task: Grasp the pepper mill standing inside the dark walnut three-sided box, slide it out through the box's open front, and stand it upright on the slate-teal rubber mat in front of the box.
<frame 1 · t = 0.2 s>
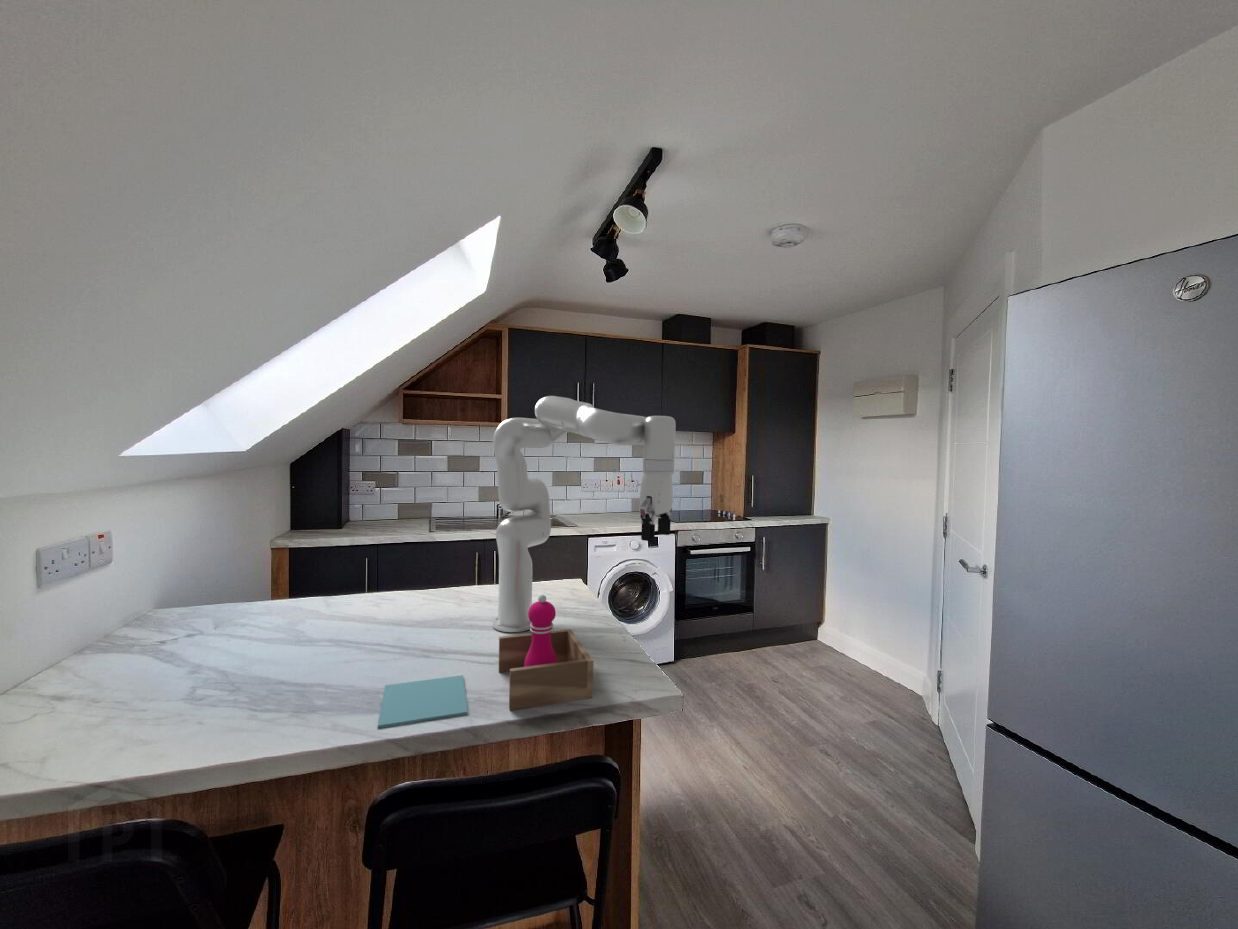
hand: (656, 537, 122), 31 cm above the worktop, fingers open, 9 cm apart
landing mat: (424, 700, 103), on the worktop
pepper mill: (540, 684, 112), on the worktop
open side box: (540, 683, 112), on the worktop
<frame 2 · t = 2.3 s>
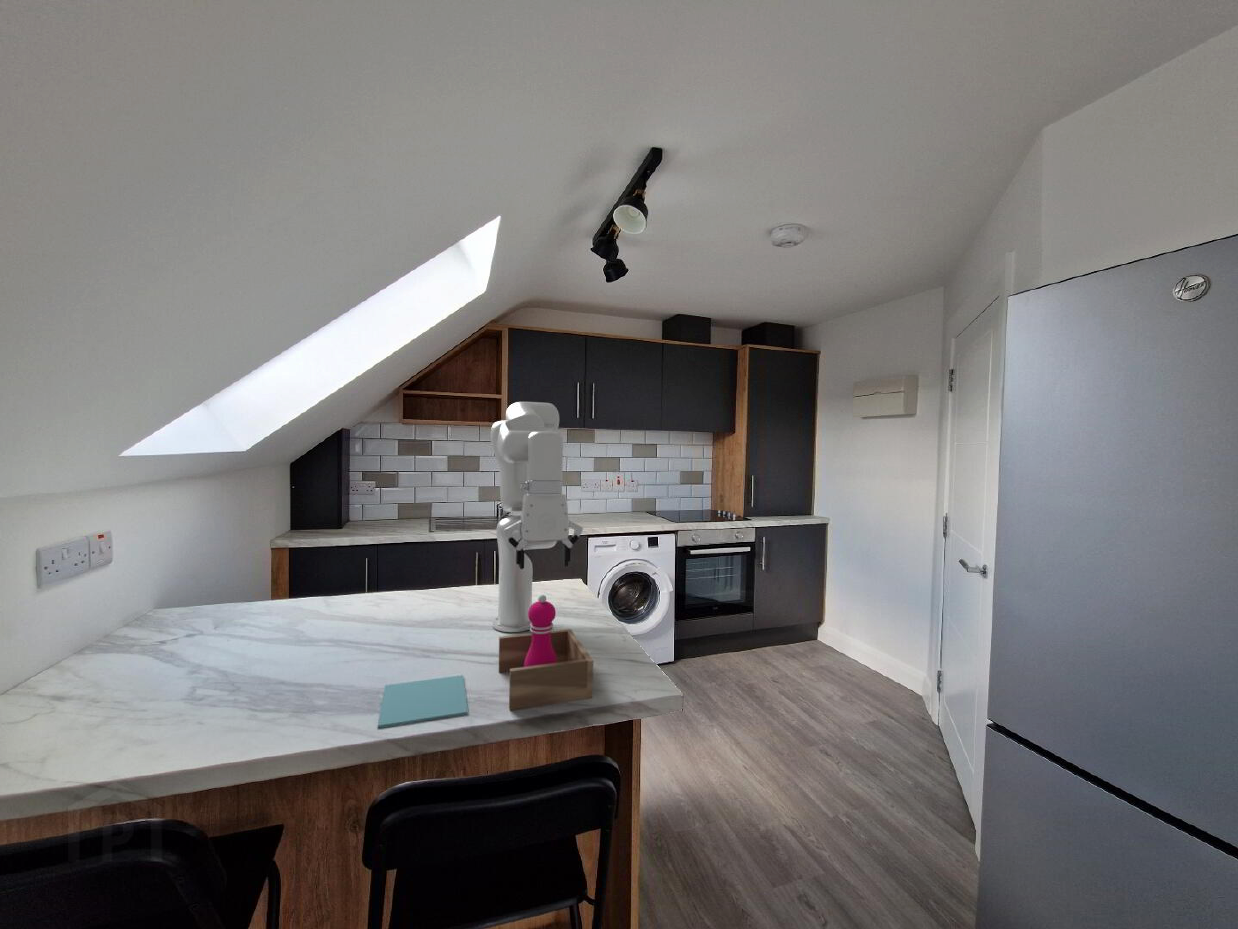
hand: (543, 566, 110), 26 cm above the worktop, fingers open, 9 cm apart
nothing on the worktop moved.
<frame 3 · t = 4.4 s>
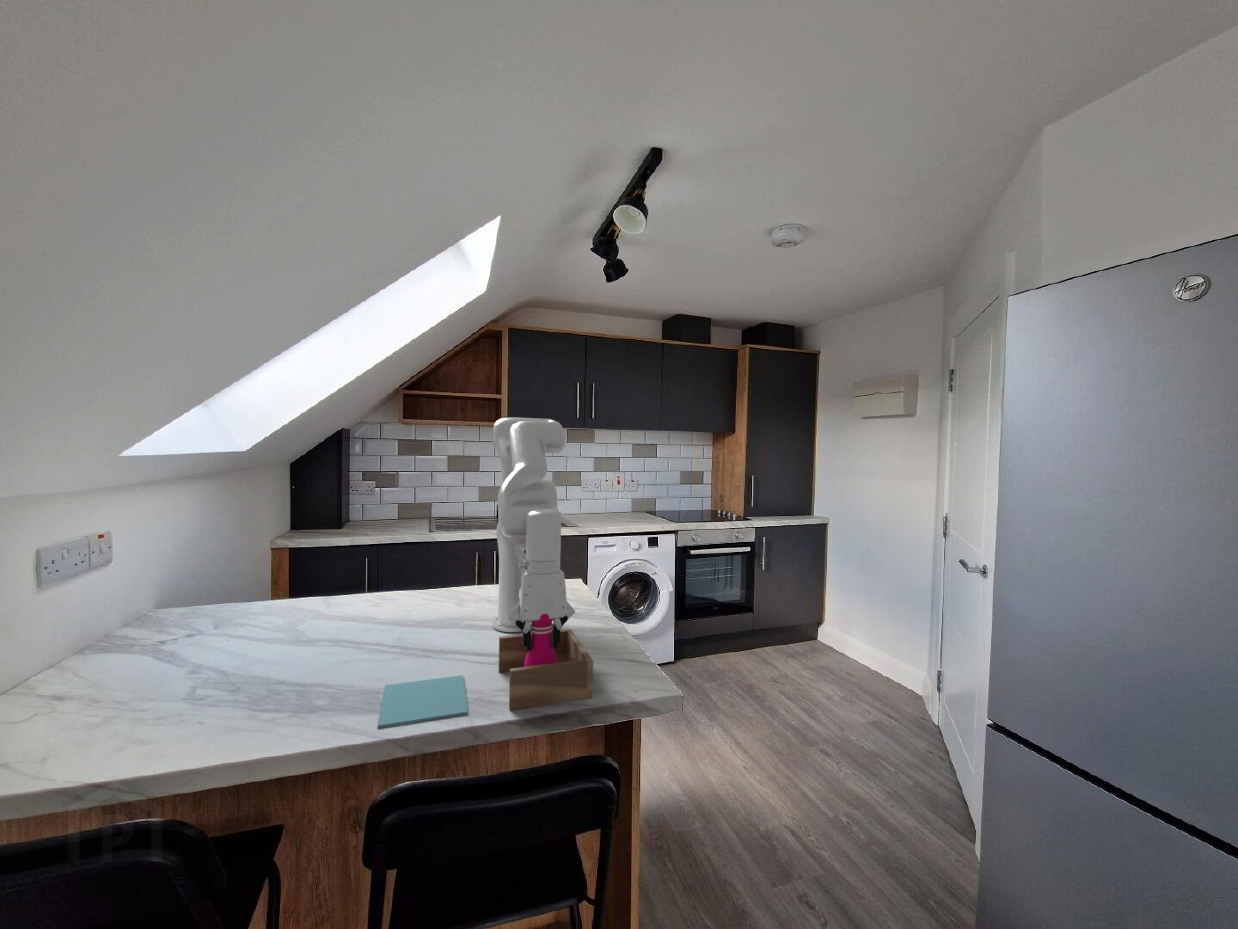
hand: (541, 646, 111), 8 cm above the worktop, fingers closed on pepper mill, 5 cm apart
pepper mill: (540, 684, 112), on the worktop, touching gripper
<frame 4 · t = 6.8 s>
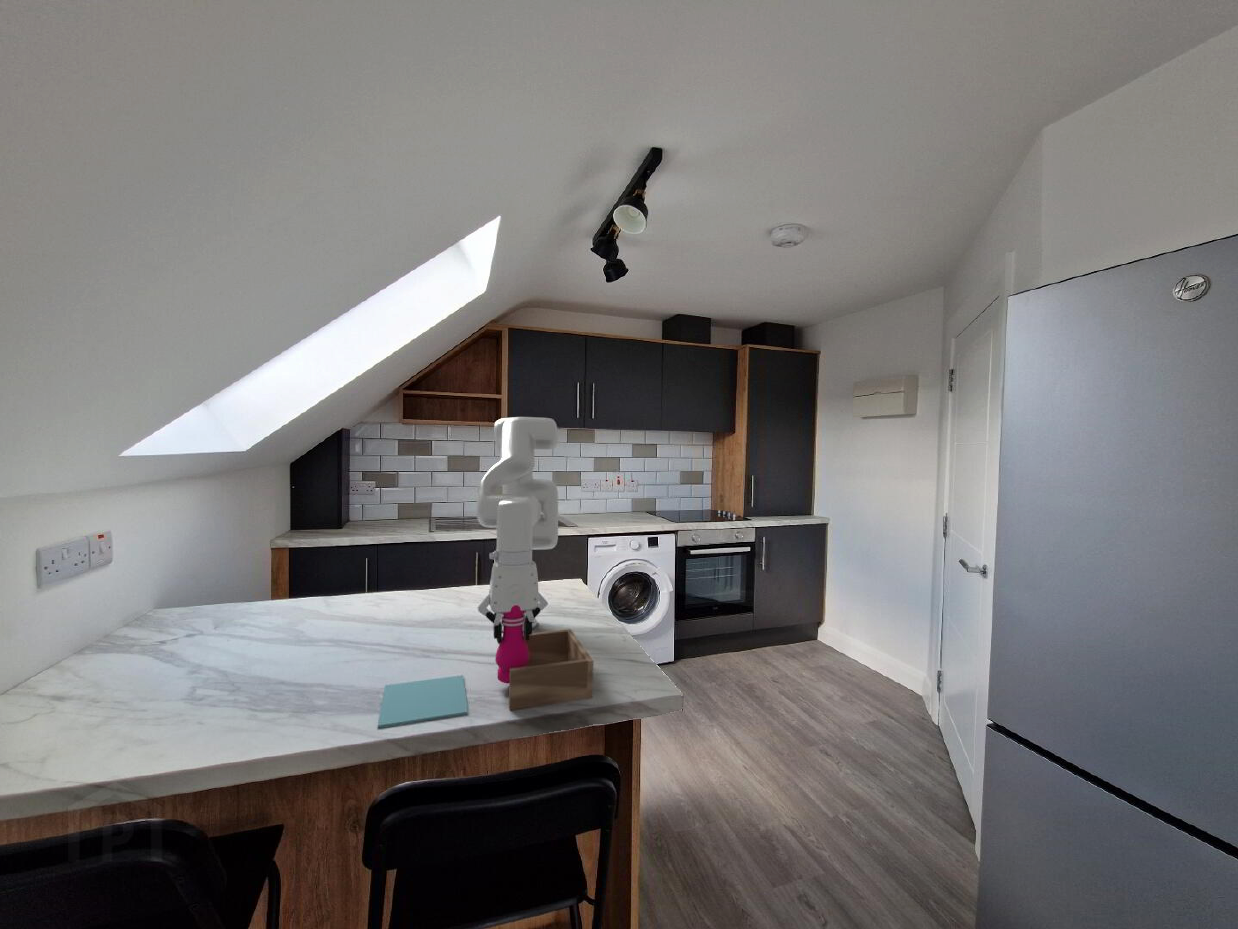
hand: (512, 638, 109), 11 cm above the worktop, fingers closed on pepper mill, 5 cm apart
pepper mill: (512, 677, 110), point 2 cm above the worktop, touching gripper
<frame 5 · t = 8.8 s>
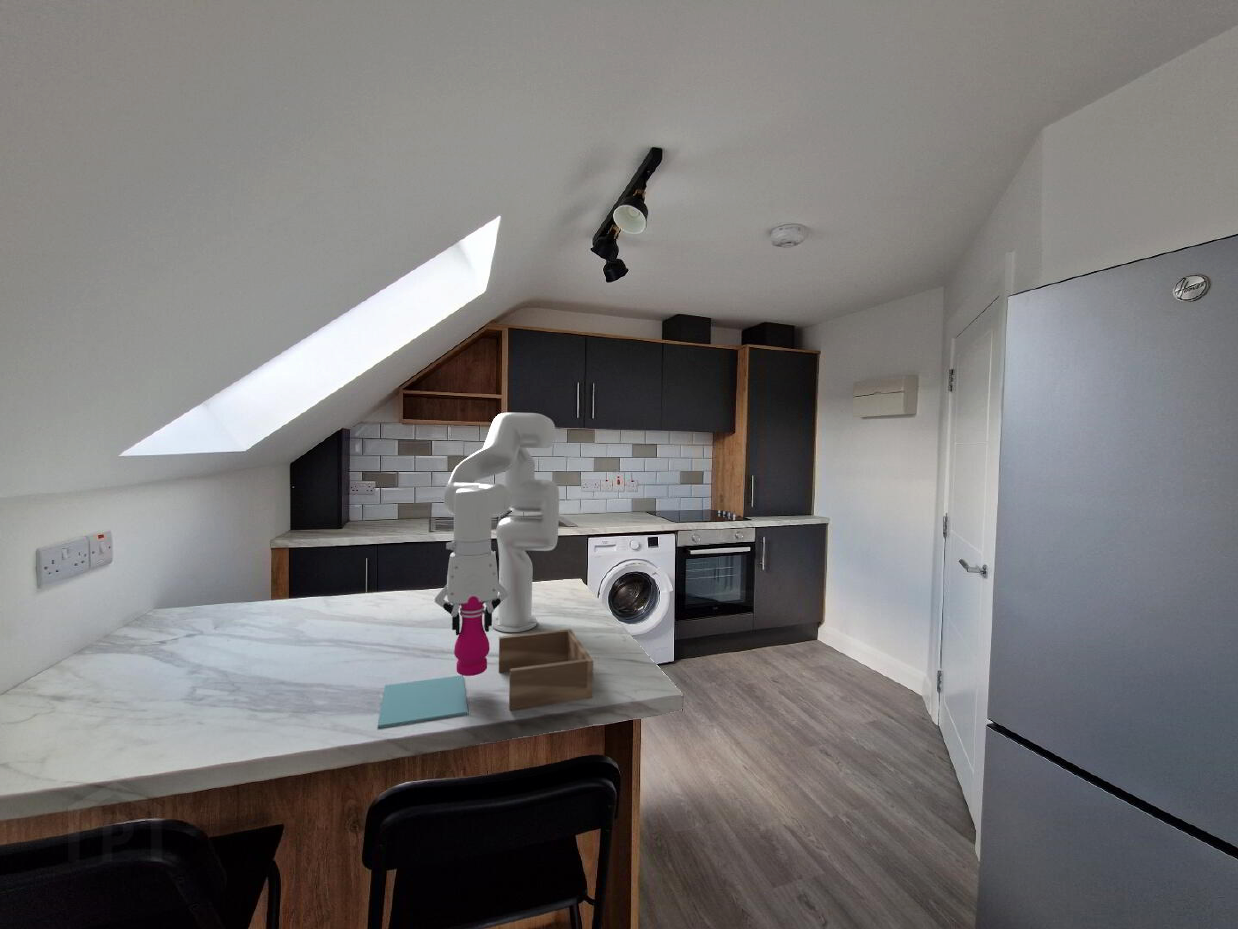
hand: (472, 630, 106), 13 cm above the worktop, fingers closed on pepper mill, 5 cm apart
pepper mill: (471, 670, 107), point 5 cm above the worktop, touching gripper
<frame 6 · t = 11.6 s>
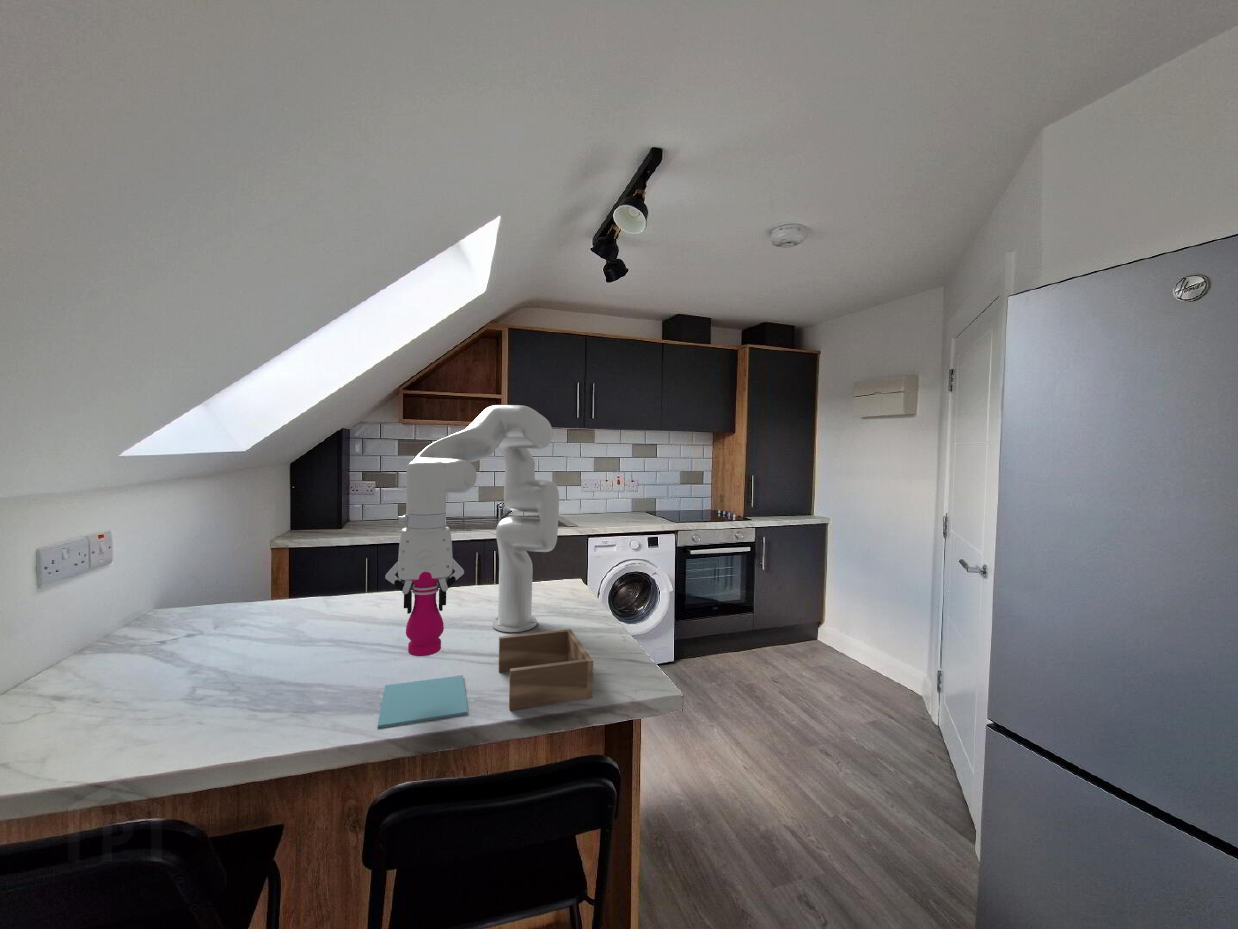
hand: (425, 609, 102), 19 cm above the worktop, fingers closed on pepper mill, 5 cm apart
pepper mill: (424, 651, 103), point 10 cm above the worktop, touching gripper
when the fingers open (10 cm above the worktop, at t = 13.5 s): pepper mill drops 1 cm, resting on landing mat.
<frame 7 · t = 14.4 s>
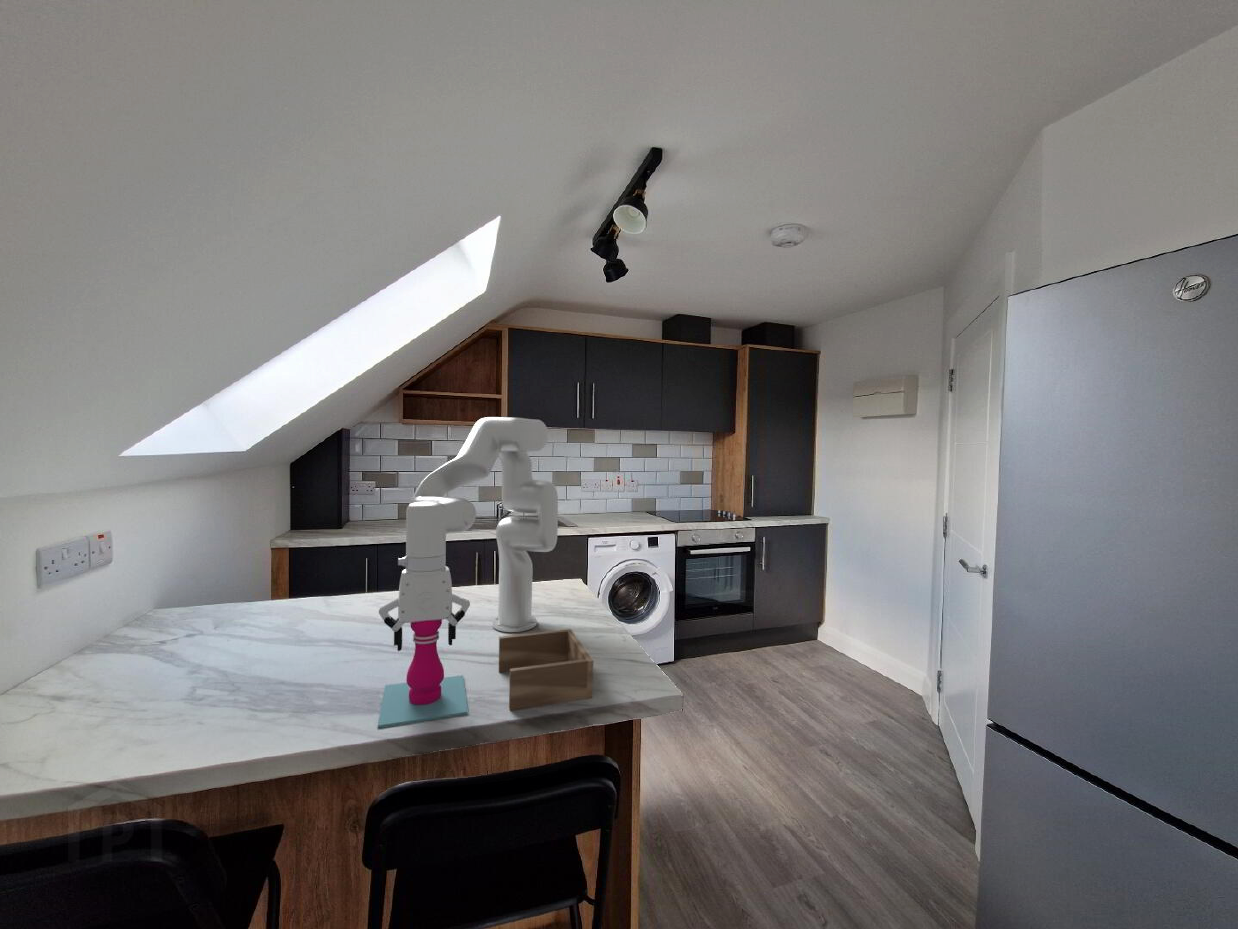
hand: (425, 645, 103), 11 cm above the worktop, fingers open, 9 cm apart
pepper mill: (425, 698, 103), resting on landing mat
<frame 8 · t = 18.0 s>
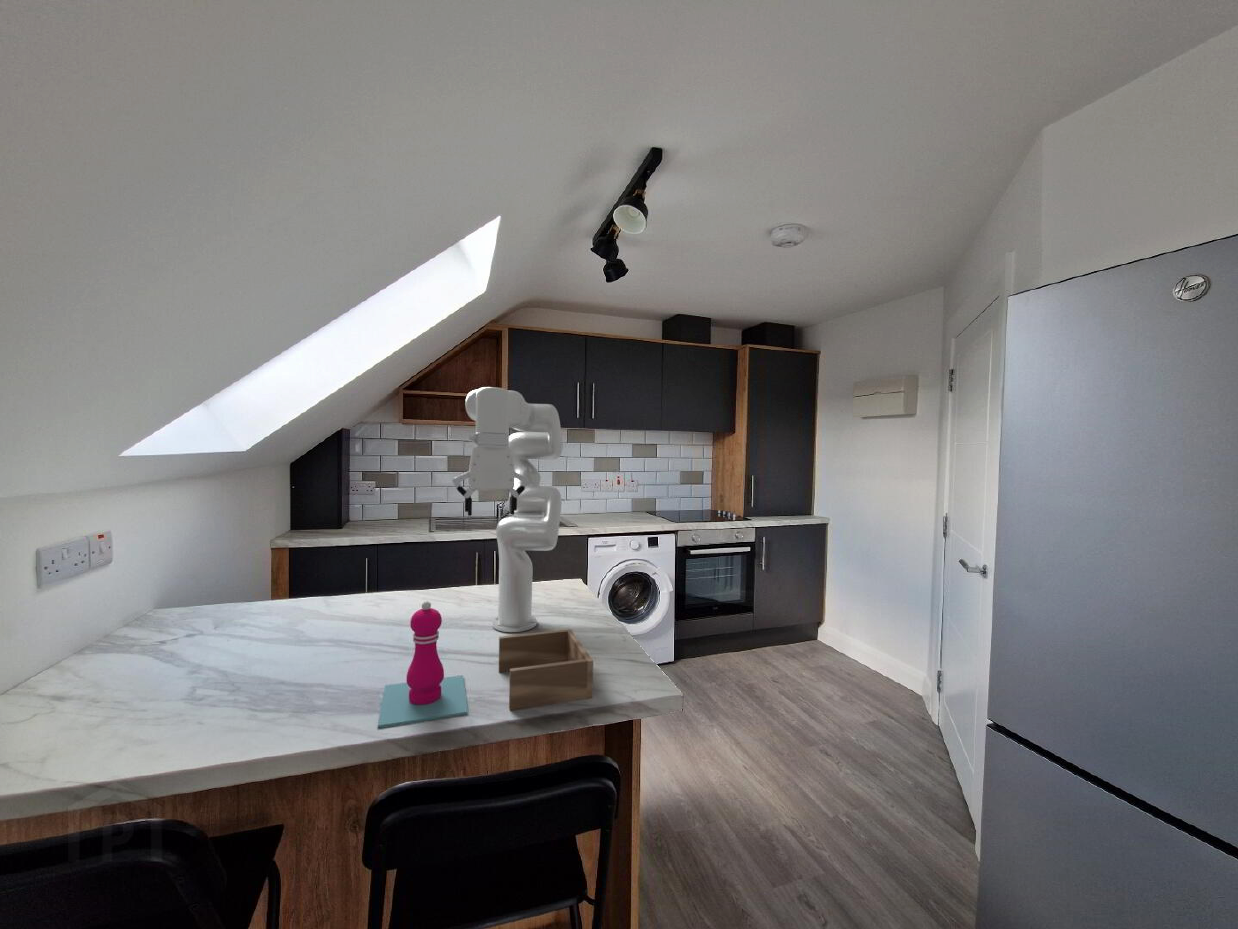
hand: (490, 514, 118), 36 cm above the worktop, fingers open, 9 cm apart
nothing on the worktop moved.
at the end: pepper mill inside the target area (0.1 cm from its centre), resting on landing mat; pepper mill tilted 0°; the gripper is holding nothing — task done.
